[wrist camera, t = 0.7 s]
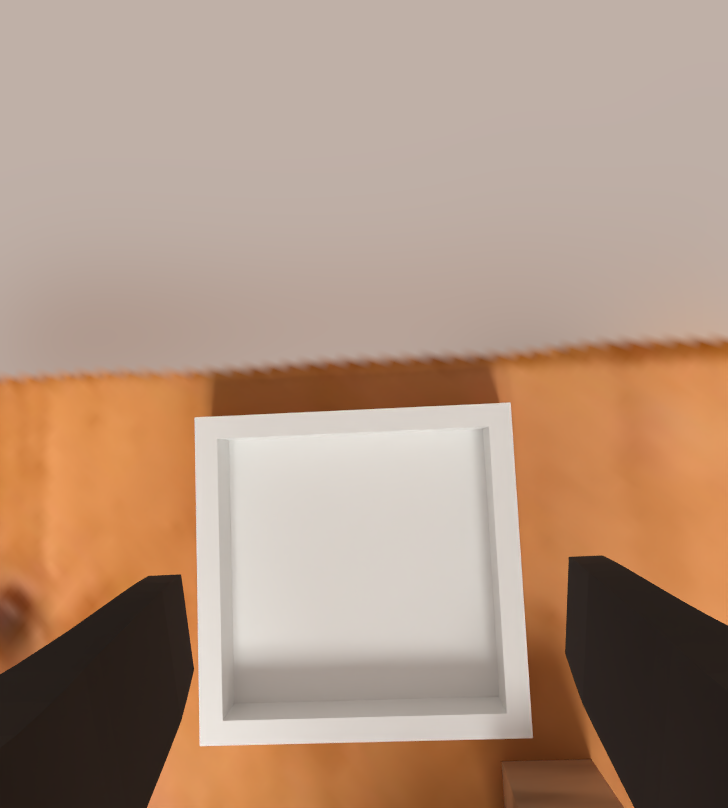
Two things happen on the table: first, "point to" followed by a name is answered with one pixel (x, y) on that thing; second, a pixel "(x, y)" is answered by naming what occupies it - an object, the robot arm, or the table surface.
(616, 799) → the brown rectangular block
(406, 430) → the white tray
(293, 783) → the table surface
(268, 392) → the table surface
